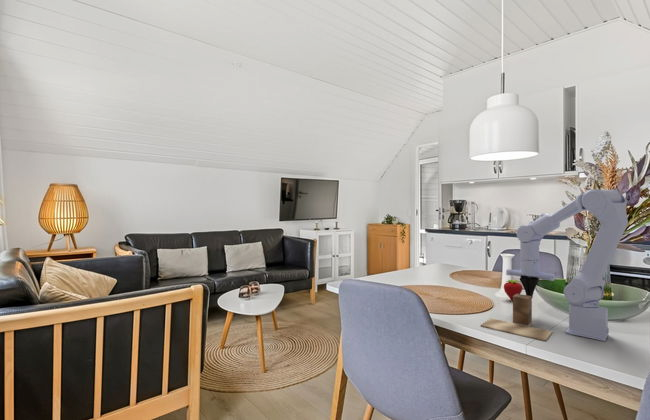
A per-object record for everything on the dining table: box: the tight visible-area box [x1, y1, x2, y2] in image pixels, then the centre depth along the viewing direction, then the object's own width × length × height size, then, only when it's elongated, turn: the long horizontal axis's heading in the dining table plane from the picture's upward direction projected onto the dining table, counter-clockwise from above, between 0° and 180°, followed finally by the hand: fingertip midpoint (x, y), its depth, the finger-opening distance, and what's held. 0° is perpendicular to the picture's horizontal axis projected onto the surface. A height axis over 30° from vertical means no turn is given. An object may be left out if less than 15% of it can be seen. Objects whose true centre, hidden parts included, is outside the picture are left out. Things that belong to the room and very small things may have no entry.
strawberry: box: [503, 278, 524, 301], centre depth 139 cm, size 6×8×10 cm
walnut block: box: [512, 293, 533, 327], centre depth 113 cm, size 4×4×9 cm
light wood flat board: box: [480, 317, 553, 342], centre depth 107 cm, size 18×9×1 cm, turn 46°
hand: (529, 298), depth 120 cm, fingers closed
